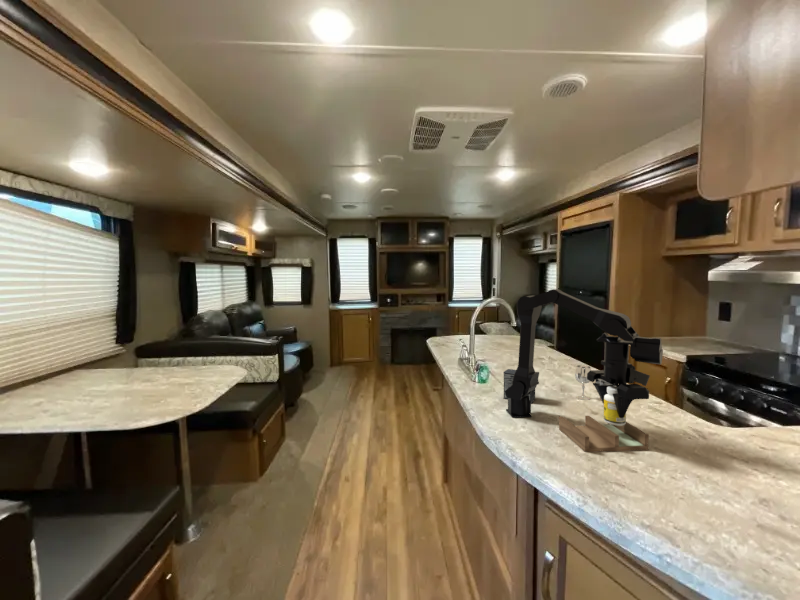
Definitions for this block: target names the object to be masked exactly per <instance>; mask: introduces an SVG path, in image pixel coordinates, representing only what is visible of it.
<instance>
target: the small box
mask: <svg viewBox="0 0 800 600" xmlns="http://www.w3.org/2000/svg"><path fill="white" fill-rule="evenodd" d="M516 370H517V369H512V368H507V369H506V370H504V371H503V398H502V399H503V400H507V401H508V398H507V397H506V394H505V391H506V390H507V389H508V388H509V387H511V386H512V381H513V377H514V374H515V372H516ZM528 396H529V397H530V399H529V400H530V401H531V404H533V402H534V401H535V400H536V388H535V389H534V390H532V391H531V394H529V395H528Z"/></svg>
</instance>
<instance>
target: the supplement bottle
mask: <svg viewBox="0 0 800 600" xmlns="http://www.w3.org/2000/svg"><path fill="white" fill-rule="evenodd" d="M607 393H608V394H606V395H605V396H604V404H603V421H604V423H606V424H607V425H608V424H611V425H617V426H622V425H625V424H626V422H627V413H626V414H625V416H624V418H620V417H619V416H618V413H617V409H616V405H615V401H614V397H613V394H615V393H618V392H617V388H616V387H614V386H608V387H607Z"/></svg>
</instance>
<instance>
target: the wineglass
mask: <svg viewBox="0 0 800 600" xmlns="http://www.w3.org/2000/svg"><path fill="white" fill-rule="evenodd" d="M590 370H592V368H591V366H589V365H585V364H584V365H583V364H581V365H577V366H576V368H575V371H574V378H575V380H576V382H578V383H580V384H581V389H582V394H581V395H578V396H576V399H578V400H582V401H588V400H589V401H590V399H591V398H590V397H588V396H585V388H586V387H585V386H586V385H585V384H589V383H591V381H589V380H587V373H588V372H589V371H590Z"/></svg>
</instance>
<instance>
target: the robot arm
mask: <svg viewBox="0 0 800 600" xmlns="http://www.w3.org/2000/svg"><path fill="white" fill-rule="evenodd" d="M551 304H555V305H557V306H560V307H562V308H564V309H566V310H568V311H571V312H573V313H575V314H577V315H578V316H581V317H583V318H585V319H587V320H589V321H590V322H592V323H594V324H595V325H596V327H598V328H599V329H600V330H602V331H603V332H604V333H602V334H601V336H599V337H598V338H596V341H597V342H598V343H599V342H600V343H604V356H603V357H604V359H603V360H601V361H600V365H601V366H603V369H602V370H601V369H597V370H594V369H593V370H592V369H591V370H590V371H589V372H588V373H587V380H589V381H590V383H591V382H592V386H593V387H594V388H595V390H596V392H597V393H598V396H599V398H600V399H601V402H602V404H603V405H604V396H605V395H606V394H608V393H607V387H608V386H614V387H616V388H617V392H618V393H615V394H613V397H614V401H615V405H616V409H617V413H618V416H619V417H620V418H624V416H625V414H626V415H627V411H628V410H629V407H630V405H631V403H632V402H633V401H634V400H649V399H650V390H649V389H648V388H647V387H646V386H647V385H648V382H649V380H650V377H651V375H649V374H647V373H644V372H641V371H639V370H636V366H634V365H633V364H632V363H630V362H629V356H630V358H631V359H633V360H634V362H637V363H638V362H639V363H646V364H654V365H662V363H663V357H664V356H663V355H664V350H663V343H662V338H661V337H643V336H640V335H639V334H638V332H637V331H636V329H634V328H633V326H632V321H631V319H630V317H629V316H628V315H626V314H625V313H622V312H618V311H614V310H609V309H605V308H600V307H598V306H595V305H593V304H591V303H589V302H586V301H584V300H582V299H580V298H577V297H575V296H573V295H570V294H569V293H566V292H564V291H562V290H561V289H558V288H556V289H550V290H547V291H546V292H542V293H539V294H536V295H525V296H522V297H520V298H519V299H518V300H517V301H516V311H517V316H518V319H519V322H520V333H519V347H518V360H517V361H518V363H517V364H518V365H517V368H516V369H515V370H516V372H515V374H514V377H513V381H512V386H511V387H509V388H508V389H507V390H506V391H505V394H506V397H507V398H508V400H507V408H505V411H506V412H507V413H508V414H509V416H510V417H511V418H532V414H531V413H532V403H531V401H530V400H529V399H530V397H529V396H528V395H529V394H531V391H532V390H534V389H535V390H536V388H537V385H539V384H540V381H539V377H540V372H539V371H536V370H535V368H534V360H535V359H534V357H535V355H534V354H535V341H536V327H537V326H536V324H537V322H538V319H539V318H540V315H541V312H542V308H544V307H546V306H549V305H551ZM641 384H642V385H641Z"/></svg>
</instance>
